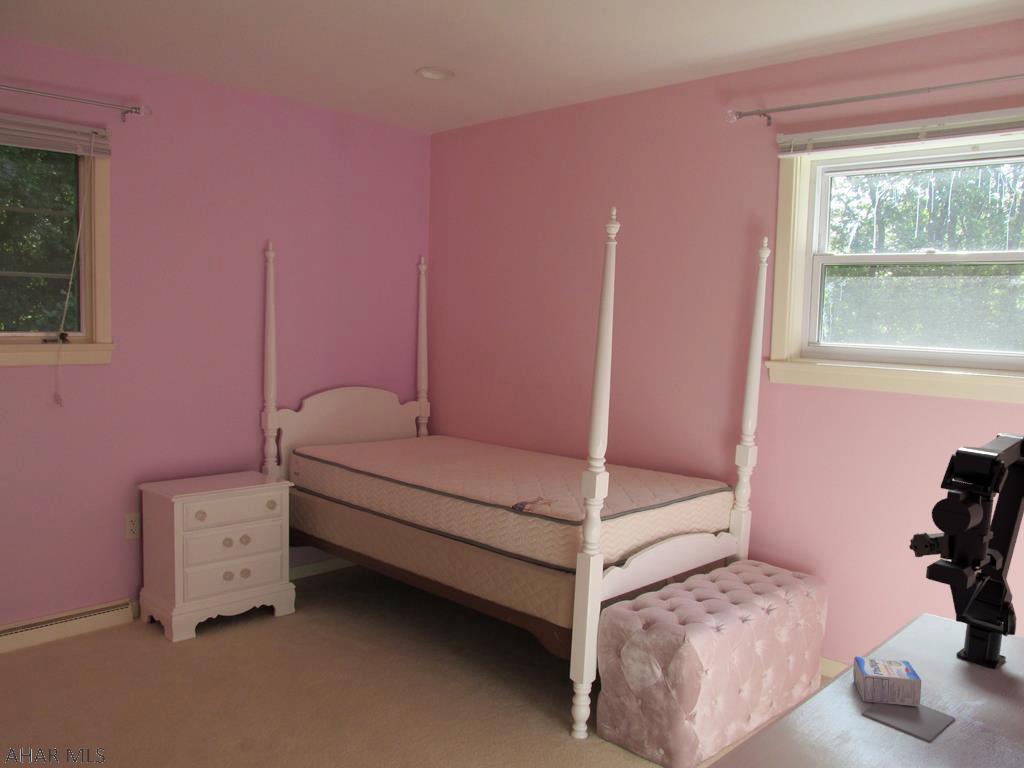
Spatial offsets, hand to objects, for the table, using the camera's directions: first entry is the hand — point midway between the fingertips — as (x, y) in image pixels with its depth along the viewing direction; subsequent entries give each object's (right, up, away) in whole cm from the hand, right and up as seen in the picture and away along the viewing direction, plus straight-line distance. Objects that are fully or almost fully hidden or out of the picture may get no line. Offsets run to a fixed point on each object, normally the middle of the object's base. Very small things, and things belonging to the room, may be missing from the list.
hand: (959, 614), depth 140 cm
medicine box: (-10, -10, -6) cm, 15 cm away
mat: (-14, -13, -12) cm, 22 cm away
